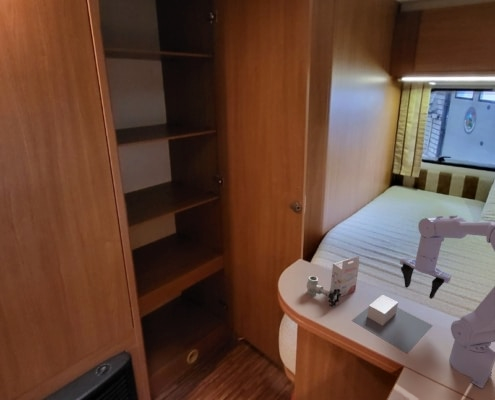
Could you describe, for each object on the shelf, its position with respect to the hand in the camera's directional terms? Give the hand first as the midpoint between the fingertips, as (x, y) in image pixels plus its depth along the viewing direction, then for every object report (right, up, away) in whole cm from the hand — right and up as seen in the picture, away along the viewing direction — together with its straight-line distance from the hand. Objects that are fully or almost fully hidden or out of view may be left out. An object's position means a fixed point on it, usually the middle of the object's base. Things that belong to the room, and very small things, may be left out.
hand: (419, 291), depth 105 cm
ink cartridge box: (-20, -5, +17) cm, 27 cm away
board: (-9, -11, 0) cm, 14 cm away
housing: (-11, -9, +3) cm, 14 cm away
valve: (-29, -6, +13) cm, 32 cm away
